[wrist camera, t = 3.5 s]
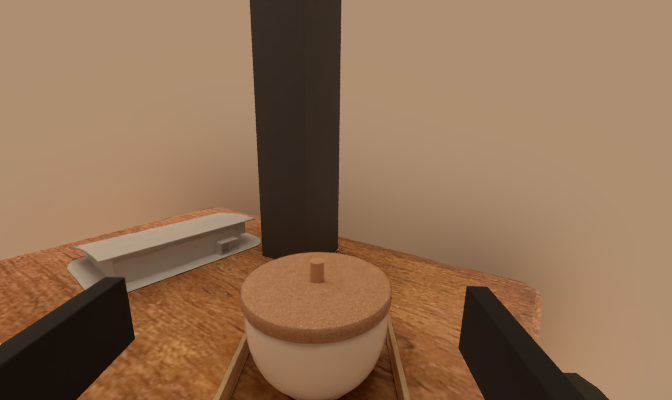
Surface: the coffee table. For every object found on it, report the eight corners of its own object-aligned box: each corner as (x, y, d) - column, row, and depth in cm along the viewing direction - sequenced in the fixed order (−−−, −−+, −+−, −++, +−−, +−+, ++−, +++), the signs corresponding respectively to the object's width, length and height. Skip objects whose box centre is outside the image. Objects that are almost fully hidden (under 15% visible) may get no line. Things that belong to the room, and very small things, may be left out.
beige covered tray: (268, 241, 50) (267, 218, 49) (96, 303, 33) (89, 269, 32) (217, 222, 59) (215, 202, 58) (61, 262, 42) (55, 235, 41)
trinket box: (215, 387, 23) (203, 270, 20) (305, 313, 32) (303, 226, 29) (340, 474, 17) (343, 328, 15) (406, 355, 26) (414, 251, 24)
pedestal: (337, 248, 48) (341, -19, 39) (306, 268, 41) (302, -48, 32) (296, 238, 52) (291, -6, 43) (262, 255, 45) (248, -30, 36)
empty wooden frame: (386, 322, 30) (387, 305, 30) (416, 457, 18) (418, 433, 18) (258, 319, 31) (258, 302, 30) (203, 450, 18) (200, 426, 18)
